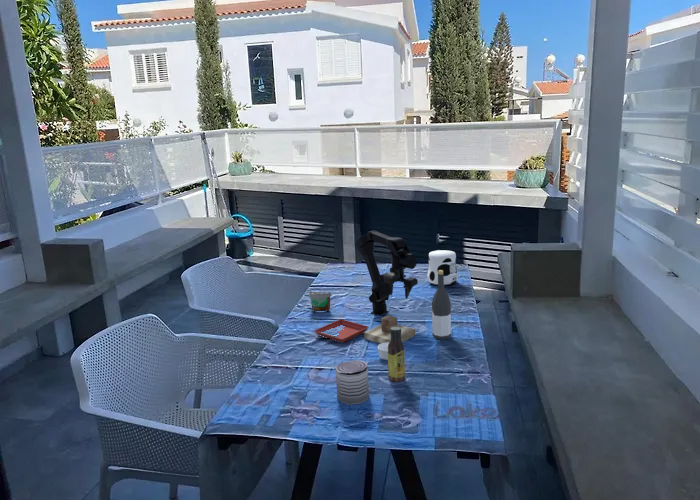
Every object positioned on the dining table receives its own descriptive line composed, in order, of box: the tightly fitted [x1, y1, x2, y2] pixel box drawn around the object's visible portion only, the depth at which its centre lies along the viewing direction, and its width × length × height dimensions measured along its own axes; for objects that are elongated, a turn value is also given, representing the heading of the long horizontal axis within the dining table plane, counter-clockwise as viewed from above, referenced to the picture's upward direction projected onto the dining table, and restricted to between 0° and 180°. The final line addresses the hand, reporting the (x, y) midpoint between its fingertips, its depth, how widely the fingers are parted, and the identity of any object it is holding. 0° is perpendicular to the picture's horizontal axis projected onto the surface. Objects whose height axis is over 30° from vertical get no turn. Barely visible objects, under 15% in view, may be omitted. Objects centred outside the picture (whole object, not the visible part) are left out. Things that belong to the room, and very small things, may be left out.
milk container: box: [427, 249, 459, 287], centre depth 316 cm, size 17×17×18 cm
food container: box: [308, 290, 332, 311], centre depth 281 cm, size 12×6×10 cm, turn 68°
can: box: [334, 359, 370, 405], centre depth 192 cm, size 11×11×12 cm
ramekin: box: [377, 342, 389, 361], centre depth 224 cm, size 9×9×4 cm
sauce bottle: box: [387, 327, 406, 383], centre depth 203 cm, size 6×6×20 cm
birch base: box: [363, 324, 416, 344], centre depth 244 cm, size 16×16×3 cm
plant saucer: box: [314, 318, 369, 343], centre depth 250 cm, size 18×18×3 cm
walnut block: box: [380, 314, 398, 334], centre depth 243 cm, size 5×5×6 cm
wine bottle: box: [431, 270, 452, 340], centre depth 239 cm, size 8×8×30 cm
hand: (398, 296), depth 261 cm, fingers open, 9 cm apart
